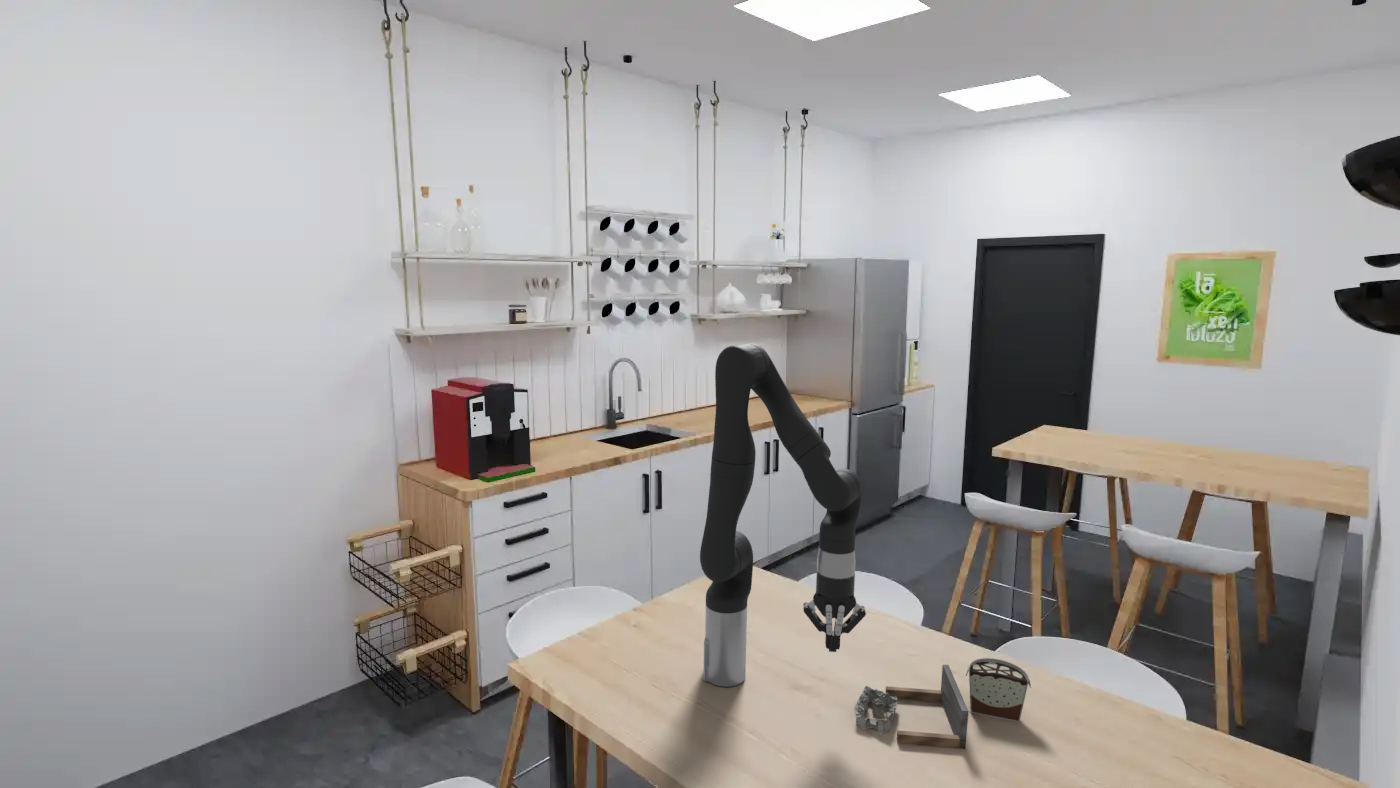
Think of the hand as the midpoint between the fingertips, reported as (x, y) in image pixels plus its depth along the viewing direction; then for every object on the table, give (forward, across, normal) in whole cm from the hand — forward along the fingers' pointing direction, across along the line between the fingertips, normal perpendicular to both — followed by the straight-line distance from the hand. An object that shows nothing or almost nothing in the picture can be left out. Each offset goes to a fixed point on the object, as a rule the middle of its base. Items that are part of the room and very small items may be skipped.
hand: (832, 649), depth 145 cm
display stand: (+14, +18, 0) cm, 23 cm away
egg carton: (+15, +9, 0) cm, 17 cm away
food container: (+14, +34, +6) cm, 38 cm away
